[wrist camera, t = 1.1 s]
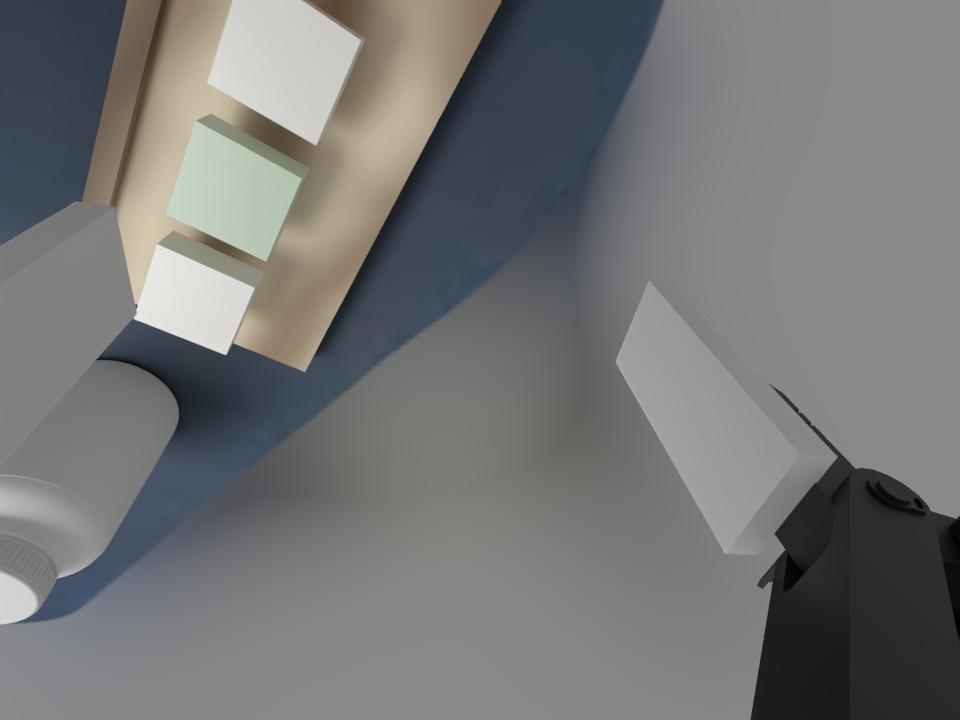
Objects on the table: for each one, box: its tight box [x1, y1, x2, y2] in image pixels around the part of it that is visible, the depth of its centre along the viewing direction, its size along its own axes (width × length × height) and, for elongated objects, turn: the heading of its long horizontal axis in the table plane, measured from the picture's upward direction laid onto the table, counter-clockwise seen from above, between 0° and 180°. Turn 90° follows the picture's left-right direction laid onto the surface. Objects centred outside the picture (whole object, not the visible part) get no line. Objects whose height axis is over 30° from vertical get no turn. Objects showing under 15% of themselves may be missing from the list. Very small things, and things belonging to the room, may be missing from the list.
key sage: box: [166, 114, 310, 261], centre depth 25 cm, size 5×5×2 cm
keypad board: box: [82, 0, 502, 372], centre depth 26 cm, size 14×28×3 cm, turn 148°
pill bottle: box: [0, 360, 179, 624], centre depth 30 cm, size 8×8×15 cm
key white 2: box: [207, 0, 365, 145], centre depth 22 cm, size 5×5×2 cm
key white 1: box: [134, 230, 265, 355], centre depth 28 cm, size 5×5×2 cm
